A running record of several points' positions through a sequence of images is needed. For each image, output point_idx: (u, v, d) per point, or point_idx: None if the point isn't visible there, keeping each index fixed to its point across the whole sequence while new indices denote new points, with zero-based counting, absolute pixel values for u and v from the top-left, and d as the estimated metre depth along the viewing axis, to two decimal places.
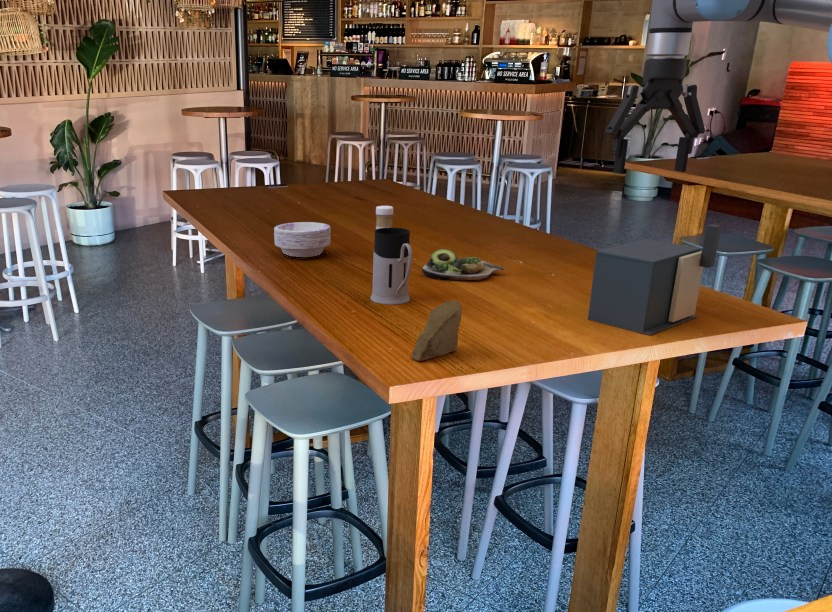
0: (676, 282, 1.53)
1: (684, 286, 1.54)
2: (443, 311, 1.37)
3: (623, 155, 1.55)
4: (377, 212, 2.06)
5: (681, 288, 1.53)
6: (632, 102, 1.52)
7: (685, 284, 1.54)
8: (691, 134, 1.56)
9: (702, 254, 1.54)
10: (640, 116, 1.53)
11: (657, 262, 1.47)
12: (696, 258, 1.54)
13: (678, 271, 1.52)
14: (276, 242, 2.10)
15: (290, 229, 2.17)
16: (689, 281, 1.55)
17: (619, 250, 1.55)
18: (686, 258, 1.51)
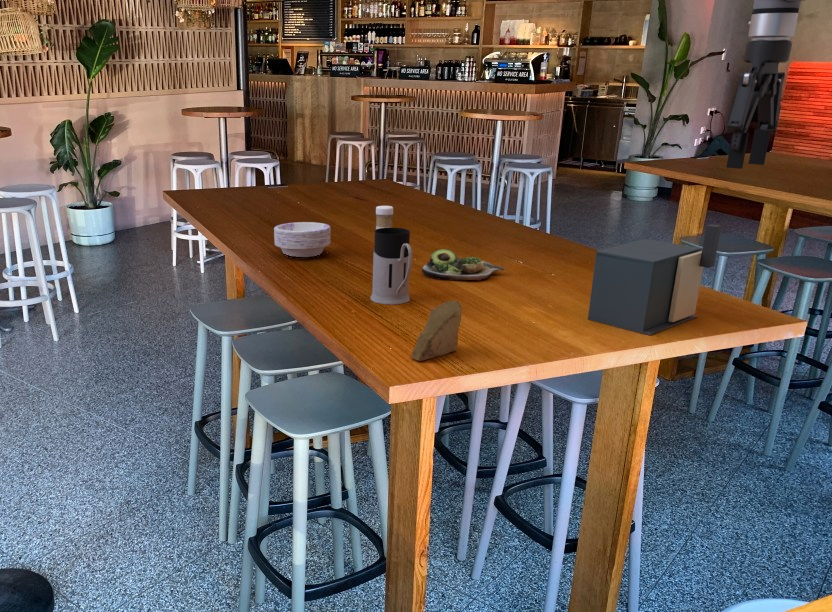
0: (676, 282, 1.53)
1: (684, 286, 1.54)
2: (443, 311, 1.37)
3: (744, 150, 1.49)
4: (377, 212, 2.06)
5: (681, 288, 1.53)
6: (752, 91, 1.45)
7: (685, 284, 1.54)
8: (771, 125, 1.54)
9: (702, 254, 1.54)
10: (756, 104, 1.47)
11: (657, 262, 1.47)
12: (696, 258, 1.54)
13: (678, 271, 1.52)
14: (276, 242, 2.10)
15: (290, 229, 2.17)
16: (689, 281, 1.55)
17: (619, 250, 1.55)
18: (686, 258, 1.51)
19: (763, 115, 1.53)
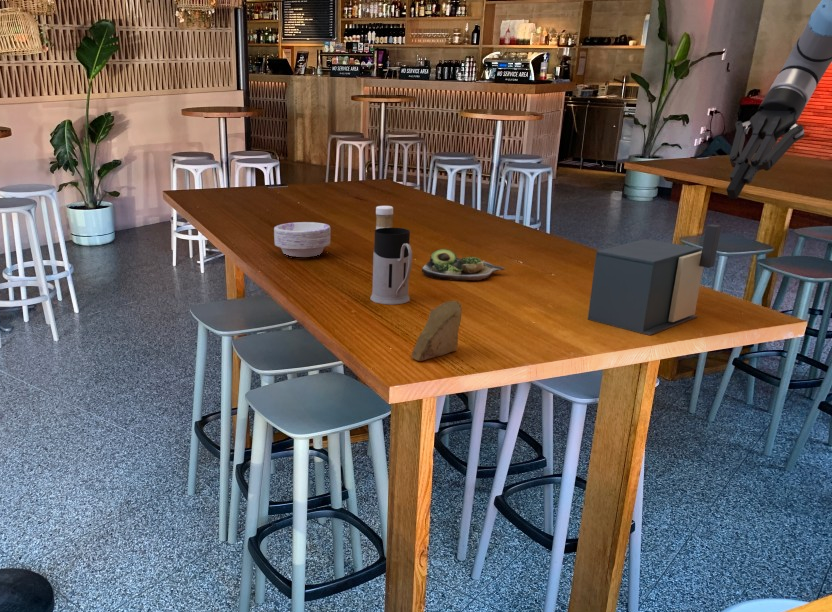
0: (676, 282, 1.53)
1: (684, 286, 1.54)
2: (443, 311, 1.37)
3: (735, 175, 1.53)
4: (377, 212, 2.06)
5: (681, 288, 1.53)
6: (740, 132, 1.57)
7: (685, 284, 1.54)
8: None
9: (702, 254, 1.54)
10: (753, 140, 1.55)
11: (657, 262, 1.47)
12: (696, 258, 1.54)
13: (678, 271, 1.52)
14: (276, 242, 2.10)
15: (290, 229, 2.17)
16: (689, 281, 1.55)
17: (619, 250, 1.55)
18: (686, 258, 1.51)
19: None
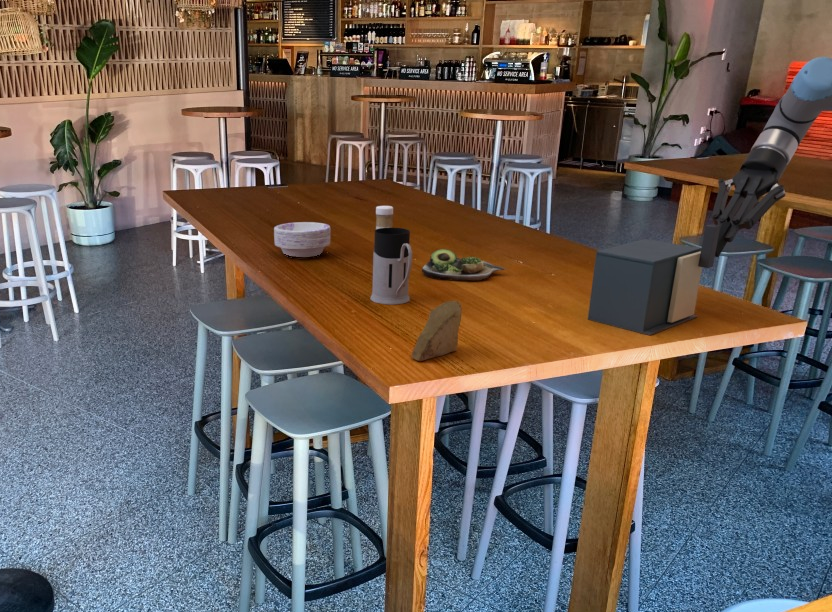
0: (675, 282, 1.52)
1: (683, 286, 1.54)
2: (443, 311, 1.37)
3: None
4: (377, 212, 2.06)
5: (680, 289, 1.53)
6: (723, 190, 1.60)
7: (684, 284, 1.54)
8: None
9: (701, 254, 1.54)
10: (735, 199, 1.57)
11: (657, 262, 1.47)
12: (695, 258, 1.53)
13: (677, 271, 1.52)
14: (276, 242, 2.10)
15: (290, 229, 2.17)
16: (688, 281, 1.54)
17: (619, 250, 1.55)
18: (685, 258, 1.51)
19: None
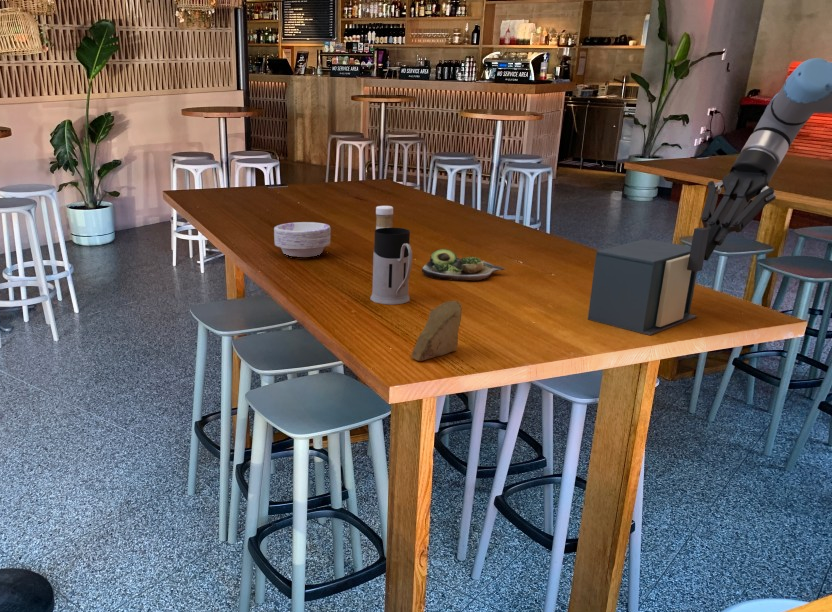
0: (663, 286, 1.50)
1: (671, 290, 1.51)
2: (443, 311, 1.37)
3: None
4: (377, 212, 2.06)
5: (668, 293, 1.50)
6: (712, 192, 1.57)
7: (672, 288, 1.51)
8: None
9: (690, 258, 1.51)
10: (724, 202, 1.55)
11: (657, 262, 1.47)
12: (684, 262, 1.51)
13: (665, 275, 1.49)
14: (276, 242, 2.10)
15: (290, 229, 2.17)
16: (677, 285, 1.52)
17: (619, 250, 1.55)
18: (673, 262, 1.48)
19: None
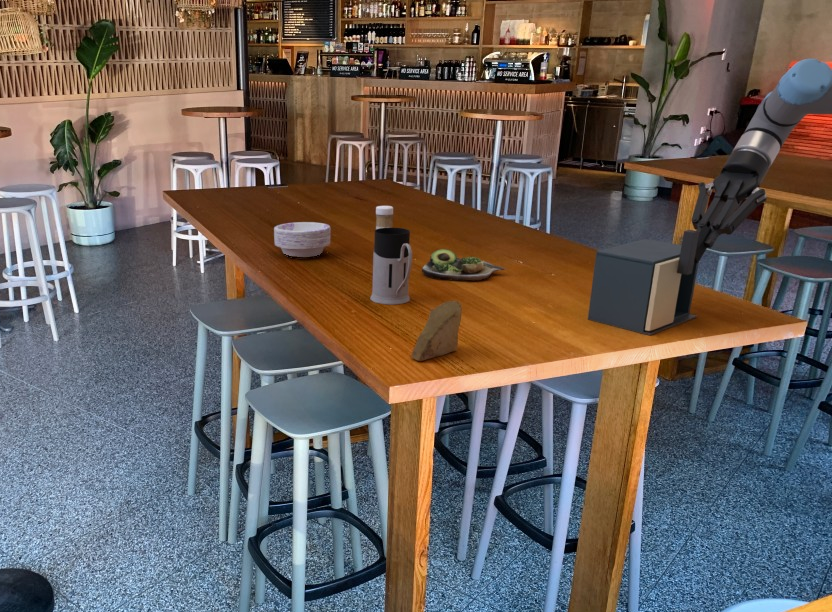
0: (652, 290, 1.48)
1: (661, 294, 1.49)
2: (443, 311, 1.37)
3: None
4: (377, 212, 2.06)
5: (657, 296, 1.48)
6: (703, 194, 1.55)
7: (662, 292, 1.49)
8: None
9: (680, 261, 1.49)
10: (715, 203, 1.52)
11: (657, 262, 1.47)
12: (673, 265, 1.49)
13: (654, 278, 1.47)
14: (276, 242, 2.10)
15: (290, 229, 2.17)
16: (666, 289, 1.49)
17: (619, 250, 1.55)
18: (663, 265, 1.46)
19: None
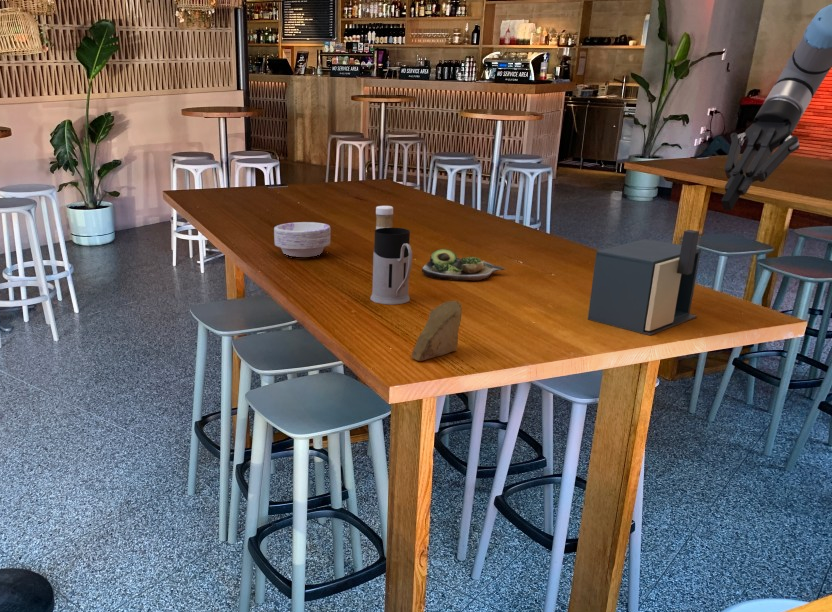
0: (652, 290, 1.48)
1: (661, 294, 1.49)
2: (443, 311, 1.37)
3: (730, 186, 1.53)
4: (377, 212, 2.06)
5: (657, 296, 1.48)
6: (735, 143, 1.57)
7: (662, 292, 1.49)
8: None
9: (680, 261, 1.49)
10: (748, 152, 1.55)
11: (657, 262, 1.47)
12: (673, 265, 1.49)
13: (654, 278, 1.47)
14: (276, 242, 2.10)
15: (290, 229, 2.17)
16: (666, 289, 1.49)
17: (619, 250, 1.55)
18: (663, 265, 1.46)
19: None
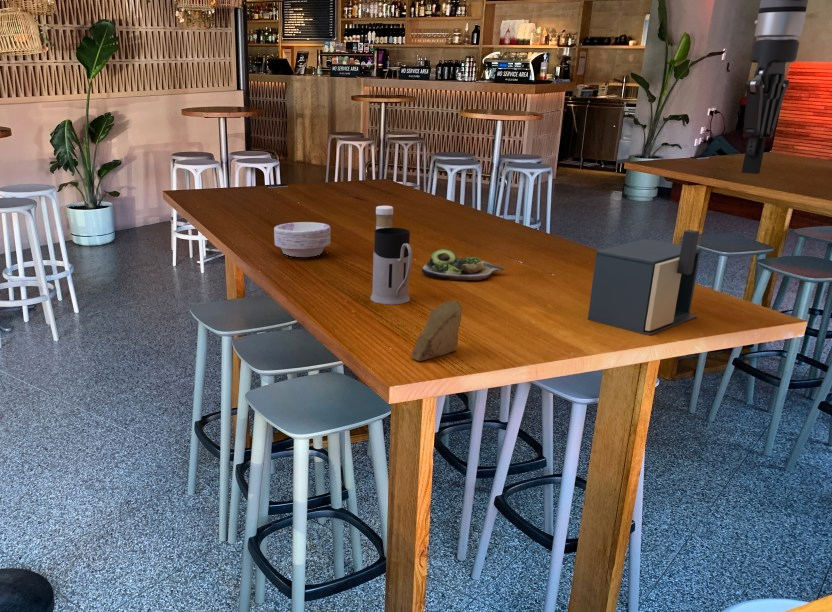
0: (652, 290, 1.48)
1: (661, 294, 1.49)
2: (443, 311, 1.37)
3: (760, 155, 1.49)
4: (377, 212, 2.06)
5: (657, 296, 1.48)
6: (761, 96, 1.43)
7: (662, 292, 1.49)
8: (767, 132, 1.49)
9: (680, 261, 1.49)
10: (767, 107, 1.46)
11: (657, 262, 1.47)
12: (673, 265, 1.49)
13: (654, 278, 1.47)
14: (276, 242, 2.10)
15: (290, 229, 2.17)
16: (666, 289, 1.49)
17: (619, 250, 1.55)
18: (663, 265, 1.46)
19: None
